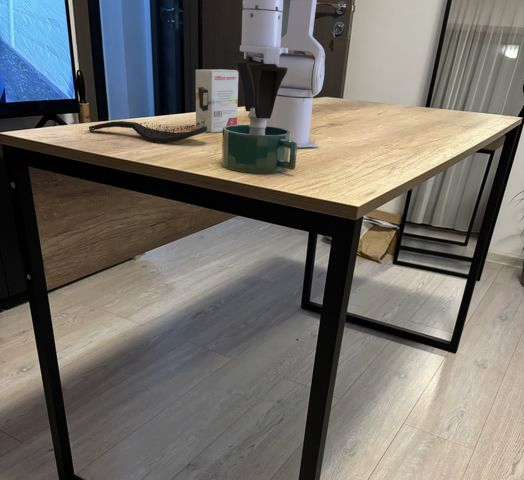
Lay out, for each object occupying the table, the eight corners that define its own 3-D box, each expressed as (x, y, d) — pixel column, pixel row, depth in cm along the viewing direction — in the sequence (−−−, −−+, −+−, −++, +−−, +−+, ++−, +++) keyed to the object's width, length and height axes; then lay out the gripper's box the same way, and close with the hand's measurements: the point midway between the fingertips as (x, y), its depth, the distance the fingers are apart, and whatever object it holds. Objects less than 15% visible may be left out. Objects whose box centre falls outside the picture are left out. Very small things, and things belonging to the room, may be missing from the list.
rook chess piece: (238, 163, 85) (240, 109, 81) (246, 158, 89) (248, 106, 85) (265, 167, 84) (268, 111, 80) (272, 161, 88) (275, 108, 84)
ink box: (221, 126, 121) (223, 68, 115) (238, 130, 119) (240, 70, 113) (194, 129, 116) (194, 68, 110) (211, 133, 113) (211, 70, 107)
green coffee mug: (208, 163, 86) (208, 127, 83) (254, 157, 93) (256, 123, 90) (270, 180, 78) (272, 140, 76) (315, 172, 85) (319, 135, 82)
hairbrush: (100, 113, 109) (213, 118, 102) (102, 132, 111) (214, 139, 104) (75, 117, 102) (195, 124, 95) (78, 138, 104) (196, 145, 97)
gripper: (304, 11, 71) (295, 122, 78) (277, 14, 83) (271, 109, 90) (252, 7, 69) (247, 120, 76) (232, 10, 81) (229, 108, 88)
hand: (257, 114), depth 83 cm, fingers open, 7 cm apart
